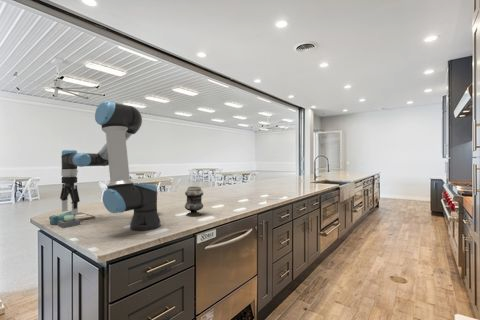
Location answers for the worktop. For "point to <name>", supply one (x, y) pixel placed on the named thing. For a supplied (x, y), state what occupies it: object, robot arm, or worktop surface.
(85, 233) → the worktop surface
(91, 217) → the clipboard
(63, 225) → the button housing
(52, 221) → the teal square-headed peg
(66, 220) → the button
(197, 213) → the apothecary jar
